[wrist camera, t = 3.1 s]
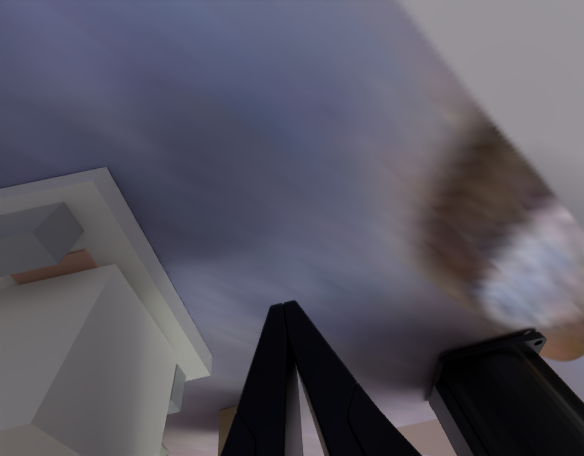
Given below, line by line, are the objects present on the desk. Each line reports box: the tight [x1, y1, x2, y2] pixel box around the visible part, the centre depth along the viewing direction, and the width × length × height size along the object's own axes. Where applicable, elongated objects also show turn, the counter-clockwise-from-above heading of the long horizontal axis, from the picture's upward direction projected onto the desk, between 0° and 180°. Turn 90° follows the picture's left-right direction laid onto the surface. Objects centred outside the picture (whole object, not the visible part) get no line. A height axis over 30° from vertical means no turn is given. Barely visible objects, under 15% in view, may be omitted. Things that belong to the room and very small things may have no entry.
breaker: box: [0, 264, 178, 456], centre depth 8 cm, size 4×5×5 cm
